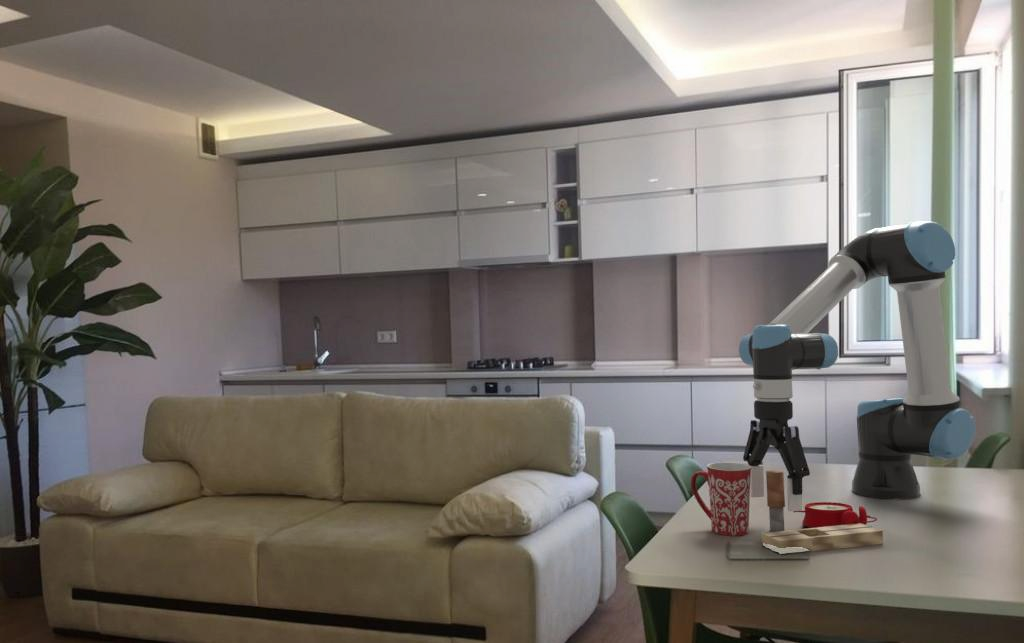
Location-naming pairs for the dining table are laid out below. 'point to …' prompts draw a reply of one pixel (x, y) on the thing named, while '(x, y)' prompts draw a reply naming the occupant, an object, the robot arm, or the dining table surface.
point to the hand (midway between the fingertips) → (775, 503)
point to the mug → (726, 497)
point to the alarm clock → (832, 515)
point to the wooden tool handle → (775, 499)
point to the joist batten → (826, 537)
